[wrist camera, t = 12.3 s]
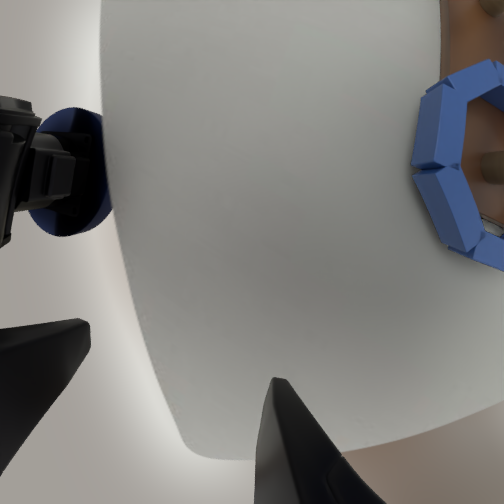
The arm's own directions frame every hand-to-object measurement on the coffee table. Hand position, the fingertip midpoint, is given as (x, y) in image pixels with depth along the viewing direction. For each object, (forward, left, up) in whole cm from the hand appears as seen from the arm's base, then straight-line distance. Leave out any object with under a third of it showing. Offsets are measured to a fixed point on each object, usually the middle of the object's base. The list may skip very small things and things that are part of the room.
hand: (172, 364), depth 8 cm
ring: (+14, +11, -8) cm, 19 cm away
